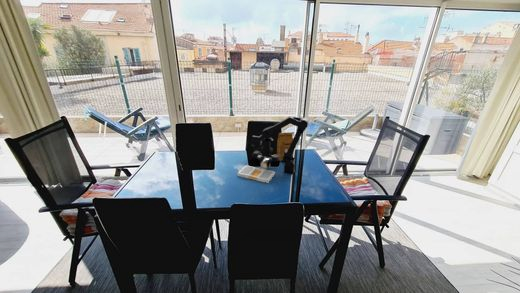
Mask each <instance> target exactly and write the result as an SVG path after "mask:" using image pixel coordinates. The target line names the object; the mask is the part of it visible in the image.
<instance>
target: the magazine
mask: <svg viewBox="0 0 520 293" xmlns="http://www.w3.org/2000/svg"><path fill="white" fill-rule="evenodd" d="M251 146H252V149H253V153H254V152H255V151H260V153H261V154H262V150H261V149H262V144H261V145H260V146H254V145H251ZM254 158H255V157H254ZM257 158H258V156H257V157H256V158H255V159H256V160H258V159H257ZM265 158H267V157H263V159H265Z"/></svg>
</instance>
